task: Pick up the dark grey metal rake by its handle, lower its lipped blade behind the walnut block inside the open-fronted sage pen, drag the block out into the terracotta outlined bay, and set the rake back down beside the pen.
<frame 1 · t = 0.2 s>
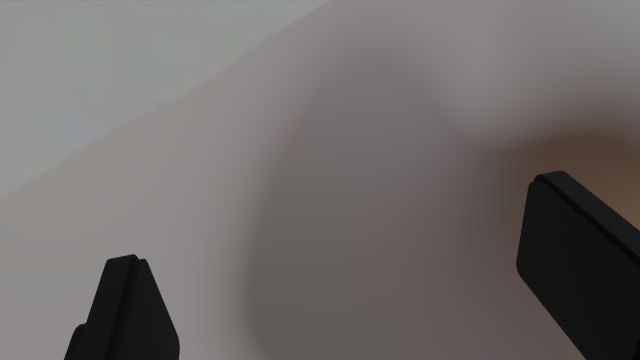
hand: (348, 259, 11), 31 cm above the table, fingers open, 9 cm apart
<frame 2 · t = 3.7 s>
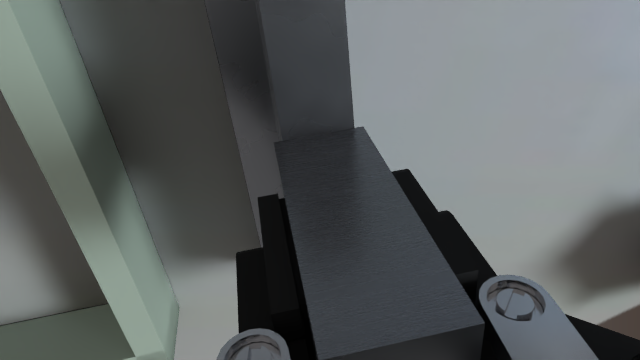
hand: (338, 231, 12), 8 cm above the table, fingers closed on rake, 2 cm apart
rake: (298, 115, 19), on the table, touching gripper
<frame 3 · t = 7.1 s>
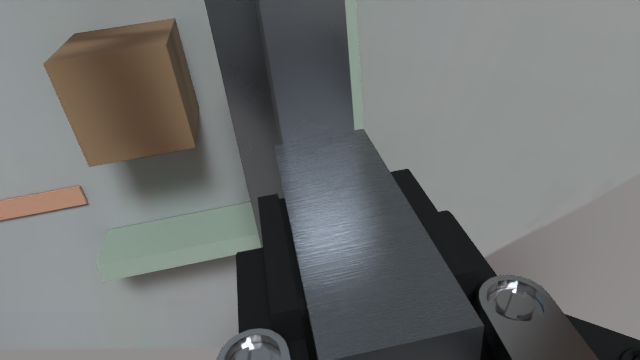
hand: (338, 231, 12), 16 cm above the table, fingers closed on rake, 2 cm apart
rake: (298, 116, 19), point 8 cm above the table, touching gripper
walnut block: (140, 72, 25), on the table
sage pen: (178, 67, 25), on the table
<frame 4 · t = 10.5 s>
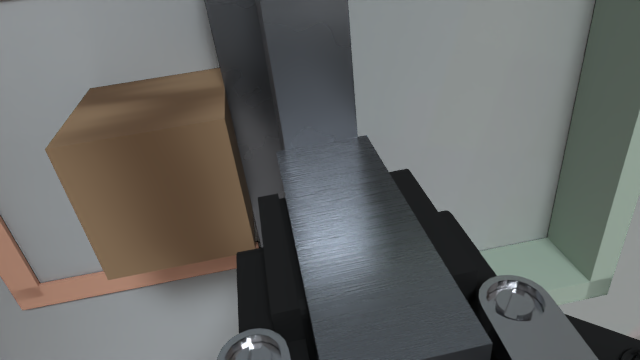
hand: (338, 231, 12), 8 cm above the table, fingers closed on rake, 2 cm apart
rake: (300, 120, 19), on the table, touching gripper
walnut block: (176, 137, 19), on the table
terracotta bay outline: (91, 151, 18), on the table
sage pen: (406, 98, 19), on the table
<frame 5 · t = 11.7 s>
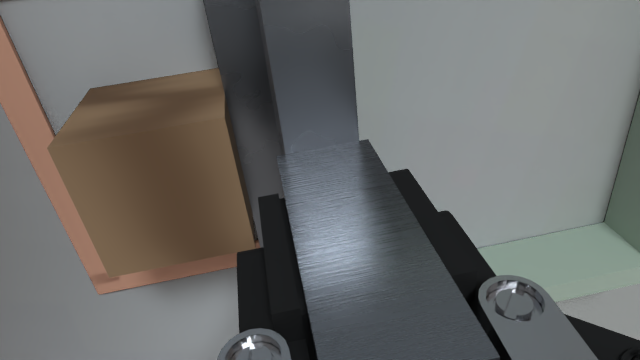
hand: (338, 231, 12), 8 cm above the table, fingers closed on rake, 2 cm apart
rake: (300, 123, 18), point 1 cm above the table, touching gripper
walnut block: (176, 136, 19), on the table
terracotta bay outline: (176, 135, 19), on the table
sage pen: (481, 83, 20), on the table
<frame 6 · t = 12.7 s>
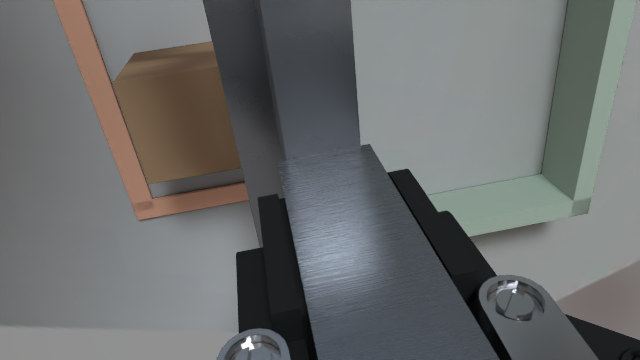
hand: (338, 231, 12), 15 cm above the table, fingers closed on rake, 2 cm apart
rake: (301, 127, 18), point 8 cm above the table, touching gripper
walnut block: (195, 91, 25), on the table
terracotta bay outline: (201, 92, 25), on the table
sage pen: (431, 55, 26), on the table
when the fingers open (9 cm above the table, at t = 17.5 s): rake drops 2 cm, on the table.
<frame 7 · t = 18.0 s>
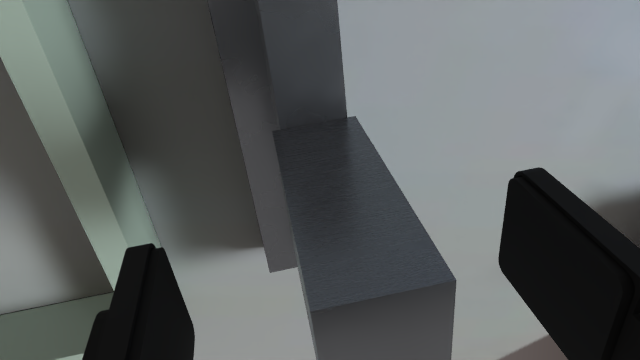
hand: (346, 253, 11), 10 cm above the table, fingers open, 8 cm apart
rake: (296, 108, 20), on the table
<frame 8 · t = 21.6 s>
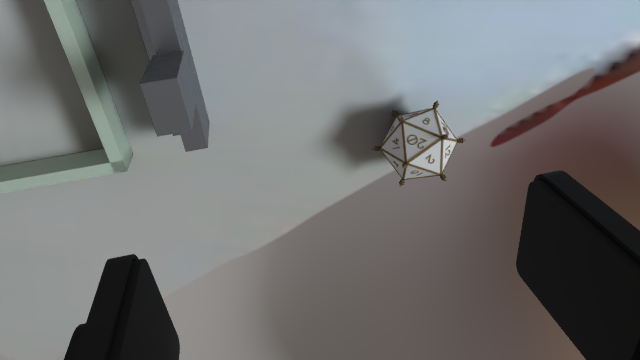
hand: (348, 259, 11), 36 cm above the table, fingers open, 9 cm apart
rake: (181, 55, 43), on the table
game die: (405, 128, 52), on the table
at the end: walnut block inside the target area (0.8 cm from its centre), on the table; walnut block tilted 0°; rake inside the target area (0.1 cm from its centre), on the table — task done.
